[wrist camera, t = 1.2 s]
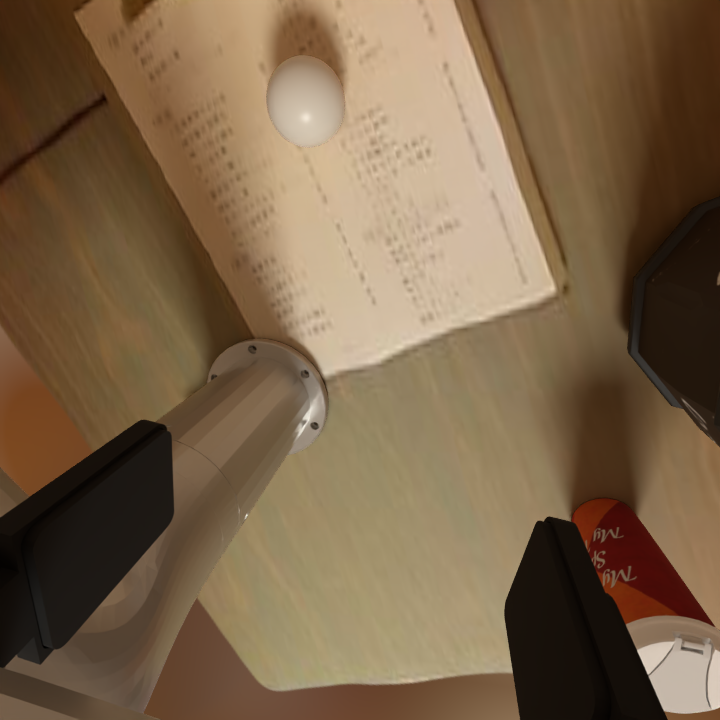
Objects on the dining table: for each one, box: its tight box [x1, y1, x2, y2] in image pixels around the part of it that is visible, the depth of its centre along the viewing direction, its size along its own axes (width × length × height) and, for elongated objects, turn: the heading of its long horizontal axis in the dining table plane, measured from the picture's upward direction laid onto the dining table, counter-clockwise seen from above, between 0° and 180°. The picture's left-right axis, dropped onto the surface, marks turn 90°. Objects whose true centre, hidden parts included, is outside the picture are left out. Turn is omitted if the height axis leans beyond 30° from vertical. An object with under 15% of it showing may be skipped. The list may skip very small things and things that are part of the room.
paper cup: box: [572, 498, 720, 713], centre depth 32 cm, size 8×8×14 cm
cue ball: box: [266, 55, 345, 148], centre depth 29 cm, size 6×6×6 cm
